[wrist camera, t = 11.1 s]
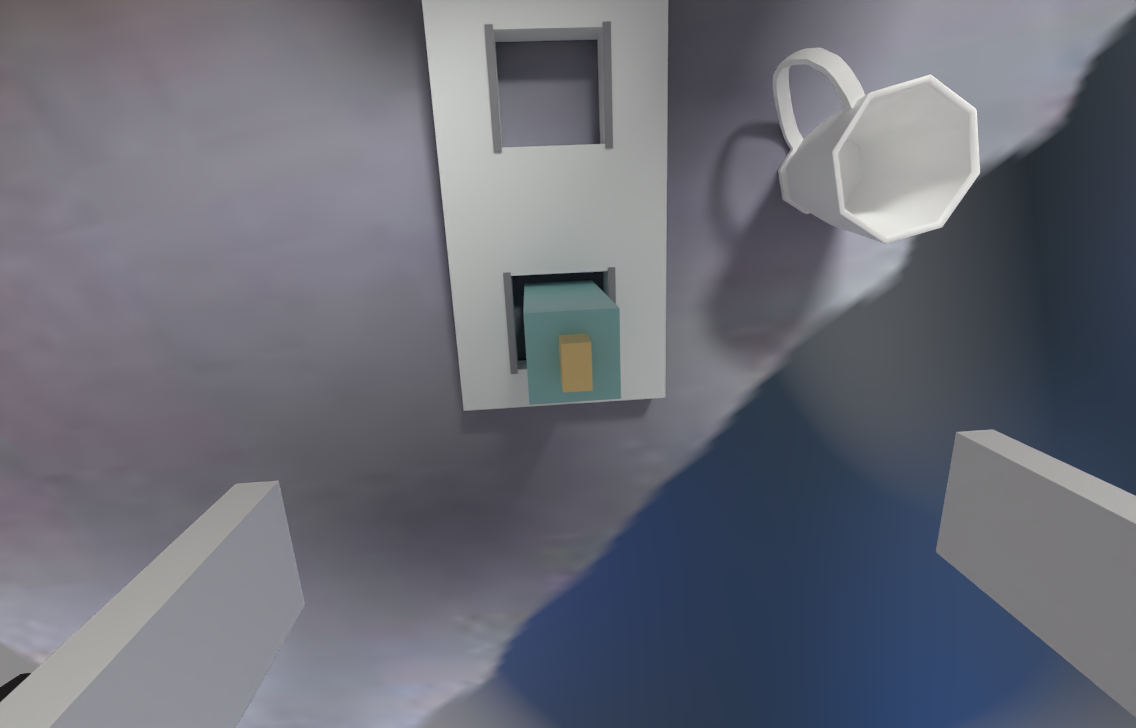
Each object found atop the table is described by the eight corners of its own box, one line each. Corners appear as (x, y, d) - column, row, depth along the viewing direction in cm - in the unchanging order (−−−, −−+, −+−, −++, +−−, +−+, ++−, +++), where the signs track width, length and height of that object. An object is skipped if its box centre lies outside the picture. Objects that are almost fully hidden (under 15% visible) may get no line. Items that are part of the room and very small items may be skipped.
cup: (794, 261, 32) (878, 275, 25) (703, 119, 30) (765, 85, 22) (892, 186, 32) (1011, 176, 24) (807, 33, 29) (909, -32, 21)
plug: (524, 283, 32) (523, 320, 20) (591, 280, 32) (626, 315, 21) (528, 348, 33) (529, 418, 22) (593, 345, 33) (627, 411, 22)
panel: (426, -8, 27) (418, -25, 25) (658, -12, 28) (669, -30, 26) (467, 399, 33) (463, 411, 31) (657, 387, 34) (665, 398, 32)
